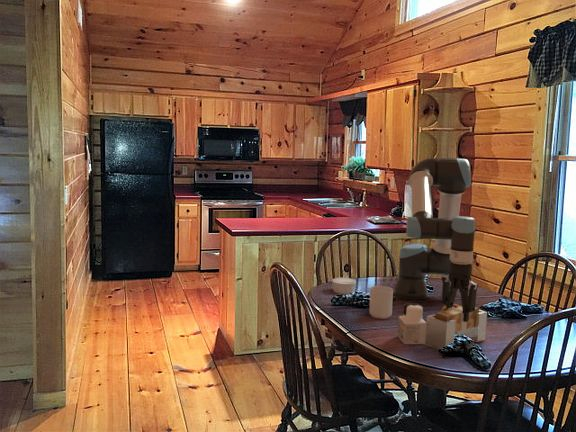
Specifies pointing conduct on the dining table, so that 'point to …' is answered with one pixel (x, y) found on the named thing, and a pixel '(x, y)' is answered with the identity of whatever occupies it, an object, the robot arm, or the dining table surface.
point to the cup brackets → (452, 331)
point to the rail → (457, 317)
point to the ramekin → (343, 285)
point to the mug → (381, 301)
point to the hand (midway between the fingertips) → (456, 327)
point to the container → (412, 325)
